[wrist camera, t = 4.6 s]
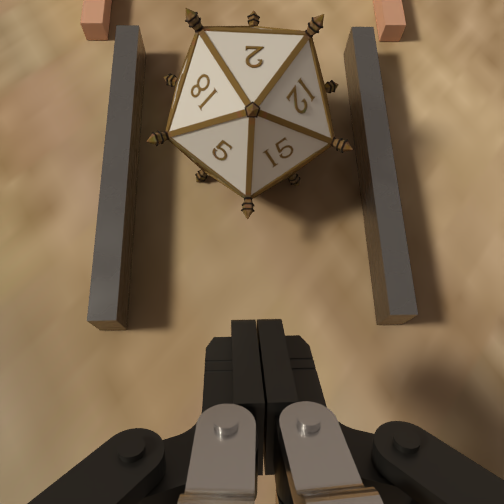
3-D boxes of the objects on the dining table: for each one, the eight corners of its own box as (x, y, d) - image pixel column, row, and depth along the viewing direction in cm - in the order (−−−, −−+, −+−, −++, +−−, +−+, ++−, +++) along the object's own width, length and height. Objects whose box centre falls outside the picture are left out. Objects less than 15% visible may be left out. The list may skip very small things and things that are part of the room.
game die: (213, 187, 28) (96, 42, 22) (334, 105, 27) (248, -76, 20) (253, 286, 21) (99, 120, 15) (416, 183, 20) (326, -48, 14)
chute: (364, 54, 27) (373, 26, 25) (402, 324, 22) (417, 314, 20) (124, 53, 27) (116, 25, 25) (100, 330, 21) (86, 320, 19)
